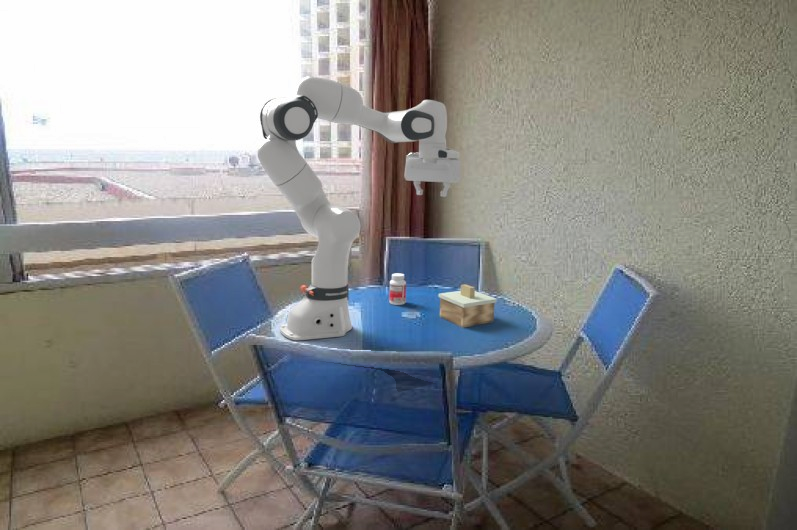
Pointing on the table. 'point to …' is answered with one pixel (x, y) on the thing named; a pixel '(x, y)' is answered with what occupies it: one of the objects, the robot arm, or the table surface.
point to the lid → (467, 297)
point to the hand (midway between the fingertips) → (431, 195)
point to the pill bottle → (397, 289)
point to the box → (466, 313)
